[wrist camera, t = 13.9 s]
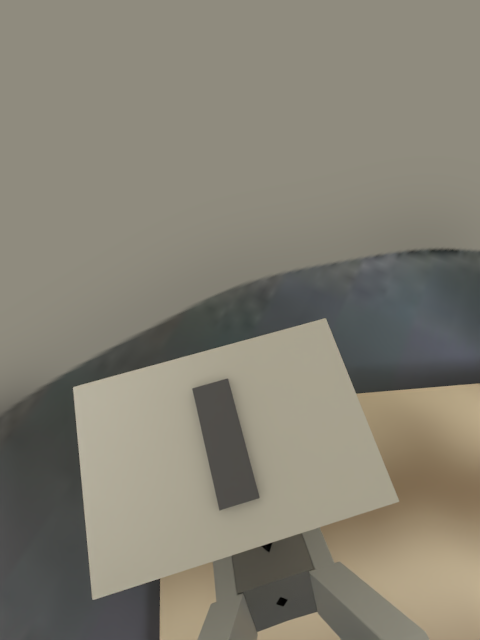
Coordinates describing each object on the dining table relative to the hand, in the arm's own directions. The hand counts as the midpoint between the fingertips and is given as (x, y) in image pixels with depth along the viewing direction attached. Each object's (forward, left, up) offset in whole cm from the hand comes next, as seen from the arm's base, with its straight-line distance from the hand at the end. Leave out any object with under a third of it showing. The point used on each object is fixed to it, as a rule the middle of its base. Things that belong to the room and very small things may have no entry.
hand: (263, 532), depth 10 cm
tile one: (+2, -2, -4) cm, 5 cm away
